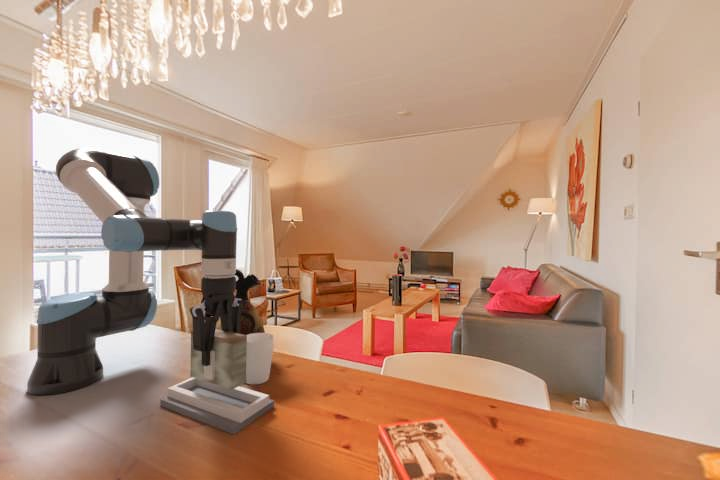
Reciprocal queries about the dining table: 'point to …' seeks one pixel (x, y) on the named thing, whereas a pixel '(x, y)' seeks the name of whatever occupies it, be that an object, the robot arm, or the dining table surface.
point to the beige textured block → (223, 359)
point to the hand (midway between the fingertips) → (217, 374)
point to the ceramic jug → (247, 305)
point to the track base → (212, 416)
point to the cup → (258, 357)
